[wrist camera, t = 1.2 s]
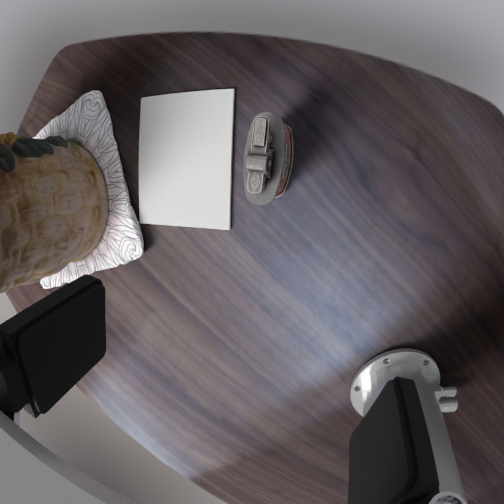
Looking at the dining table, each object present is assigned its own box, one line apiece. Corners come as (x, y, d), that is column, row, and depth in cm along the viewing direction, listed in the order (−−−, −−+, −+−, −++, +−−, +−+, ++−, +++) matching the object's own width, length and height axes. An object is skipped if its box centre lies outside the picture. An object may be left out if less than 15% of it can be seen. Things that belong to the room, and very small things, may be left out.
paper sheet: (234, 89, 31) (233, 88, 31) (230, 229, 36) (229, 229, 35) (143, 98, 34) (141, 97, 33) (141, 222, 38) (139, 223, 38)
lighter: (288, 199, 33) (272, 212, 24) (257, 194, 34) (230, 206, 25) (297, 125, 31) (284, 108, 22) (265, 122, 32) (240, 105, 22)
